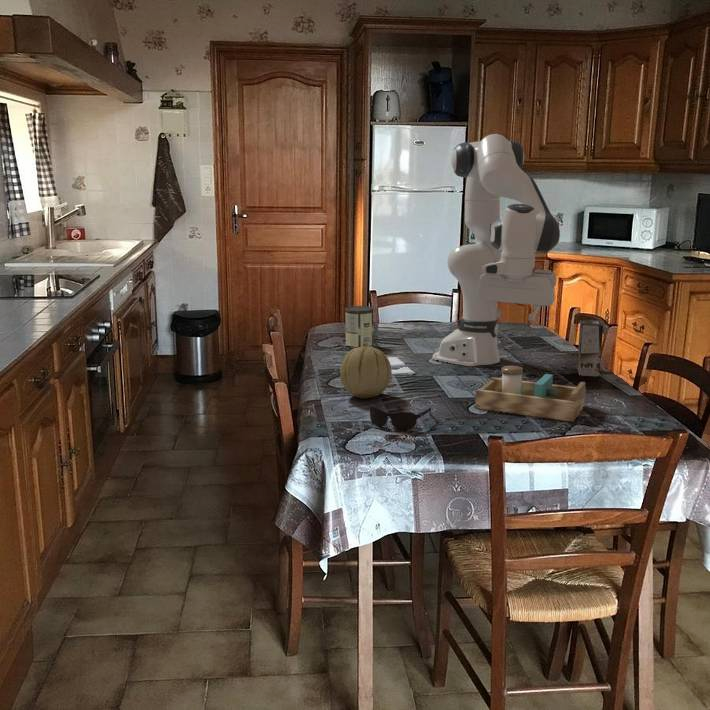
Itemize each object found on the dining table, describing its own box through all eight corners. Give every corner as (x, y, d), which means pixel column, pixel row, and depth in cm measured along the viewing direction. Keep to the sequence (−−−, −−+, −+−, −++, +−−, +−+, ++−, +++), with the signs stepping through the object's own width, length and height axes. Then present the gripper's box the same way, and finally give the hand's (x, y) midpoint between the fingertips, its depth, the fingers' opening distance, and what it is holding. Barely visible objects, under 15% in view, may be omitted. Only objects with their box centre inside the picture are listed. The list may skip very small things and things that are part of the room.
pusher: (533, 409, 206) (534, 384, 204) (544, 398, 216) (545, 373, 214) (552, 412, 204) (554, 386, 202) (562, 400, 214) (564, 375, 212)
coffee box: (600, 376, 242) (603, 325, 239) (578, 375, 244) (581, 324, 240) (597, 369, 251) (600, 320, 247) (576, 368, 252) (579, 319, 248)
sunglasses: (364, 425, 199) (364, 406, 197) (392, 409, 212) (392, 391, 211) (413, 434, 192) (413, 414, 191) (438, 416, 205) (439, 398, 204)
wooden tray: (475, 408, 212) (476, 383, 210) (491, 394, 224) (492, 370, 223) (573, 421, 200) (574, 395, 198) (584, 406, 213) (586, 381, 211)
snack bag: (399, 362, 264) (399, 355, 264) (416, 377, 245) (416, 370, 244) (343, 365, 260) (343, 358, 260) (356, 380, 241) (356, 373, 240)
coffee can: (355, 342, 291) (355, 304, 287) (379, 345, 285) (379, 307, 282) (339, 347, 282) (339, 309, 279) (364, 351, 277) (364, 311, 274)
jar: (498, 402, 213) (499, 369, 211) (504, 397, 218) (505, 364, 216) (518, 404, 211) (519, 371, 209) (524, 399, 216) (525, 366, 213)
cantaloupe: (352, 407, 213) (352, 353, 209) (332, 393, 226) (331, 342, 222) (401, 400, 218) (401, 348, 215) (378, 387, 231) (378, 337, 228)
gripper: (559, 268, 204) (556, 321, 207) (484, 263, 213) (481, 313, 216) (554, 271, 198) (550, 325, 202) (476, 266, 207) (474, 317, 211)
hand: (514, 319), depth 209 cm, fingers open, 8 cm apart
